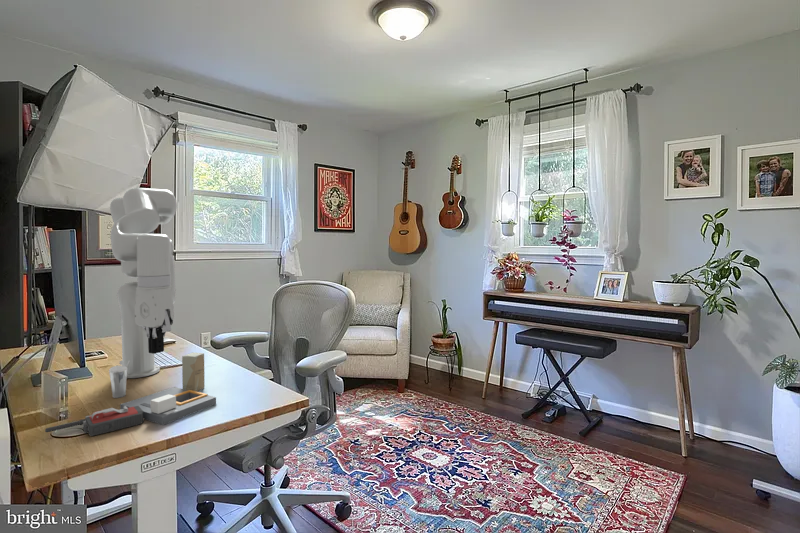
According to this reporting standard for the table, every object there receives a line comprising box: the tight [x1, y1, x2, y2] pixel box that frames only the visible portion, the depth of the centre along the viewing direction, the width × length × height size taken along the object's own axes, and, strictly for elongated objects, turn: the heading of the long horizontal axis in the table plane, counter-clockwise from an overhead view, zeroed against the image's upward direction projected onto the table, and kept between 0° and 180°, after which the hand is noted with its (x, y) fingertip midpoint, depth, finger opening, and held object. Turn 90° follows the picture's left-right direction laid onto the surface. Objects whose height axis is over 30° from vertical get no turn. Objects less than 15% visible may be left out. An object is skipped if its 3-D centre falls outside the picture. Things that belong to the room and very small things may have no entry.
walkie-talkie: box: [44, 406, 144, 437], centre depth 108 cm, size 9×4×20 cm
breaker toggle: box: [151, 394, 176, 414], centre depth 115 cm, size 3×5×3 cm, turn 152°
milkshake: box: [108, 361, 129, 399], centre depth 131 cm, size 5×5×10 cm
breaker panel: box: [119, 386, 217, 426], centre depth 122 cm, size 18×16×2 cm
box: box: [181, 352, 206, 392], centre depth 137 cm, size 5×4×11 cm
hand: (156, 352), depth 116 cm, fingers closed
